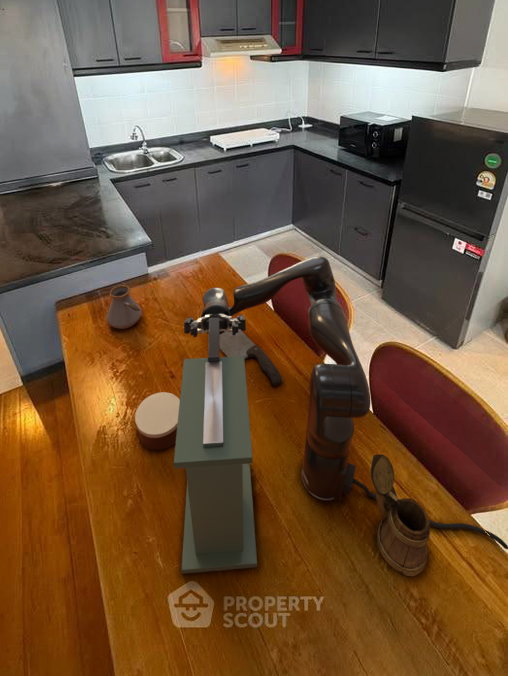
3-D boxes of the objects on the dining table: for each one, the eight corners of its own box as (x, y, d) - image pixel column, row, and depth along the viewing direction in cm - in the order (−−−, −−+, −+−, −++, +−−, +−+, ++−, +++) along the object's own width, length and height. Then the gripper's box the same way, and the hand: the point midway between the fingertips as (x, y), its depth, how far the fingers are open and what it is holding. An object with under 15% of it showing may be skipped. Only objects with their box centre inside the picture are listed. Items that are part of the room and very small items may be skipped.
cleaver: (289, 379, 109) (289, 374, 108) (262, 397, 104) (262, 391, 103) (230, 322, 130) (230, 317, 130) (206, 335, 125) (206, 330, 124)
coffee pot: (102, 319, 132) (95, 284, 125) (134, 305, 138) (128, 271, 132) (127, 356, 117) (120, 319, 110) (161, 339, 123) (156, 302, 117)
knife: (207, 325, 84) (206, 318, 83) (221, 325, 84) (221, 317, 83) (203, 447, 59) (202, 438, 58) (223, 446, 60) (223, 437, 59)
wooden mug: (373, 491, 83) (386, 438, 75) (434, 549, 74) (456, 496, 66) (348, 522, 78) (360, 469, 70) (411, 589, 68) (432, 537, 61)
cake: (192, 417, 98) (191, 401, 96) (167, 459, 89) (164, 442, 86) (156, 402, 103) (154, 386, 100) (128, 439, 93) (125, 423, 91)
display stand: (189, 458, 89) (178, 359, 75) (248, 454, 90) (249, 355, 76) (182, 574, 70) (166, 470, 56) (257, 567, 71) (259, 463, 57)
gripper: (188, 303, 99) (181, 315, 83) (242, 300, 100) (246, 312, 83) (188, 332, 98) (182, 350, 82) (243, 329, 99) (247, 347, 83)
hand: (214, 331), depth 83 cm, fingers open, 8 cm apart
